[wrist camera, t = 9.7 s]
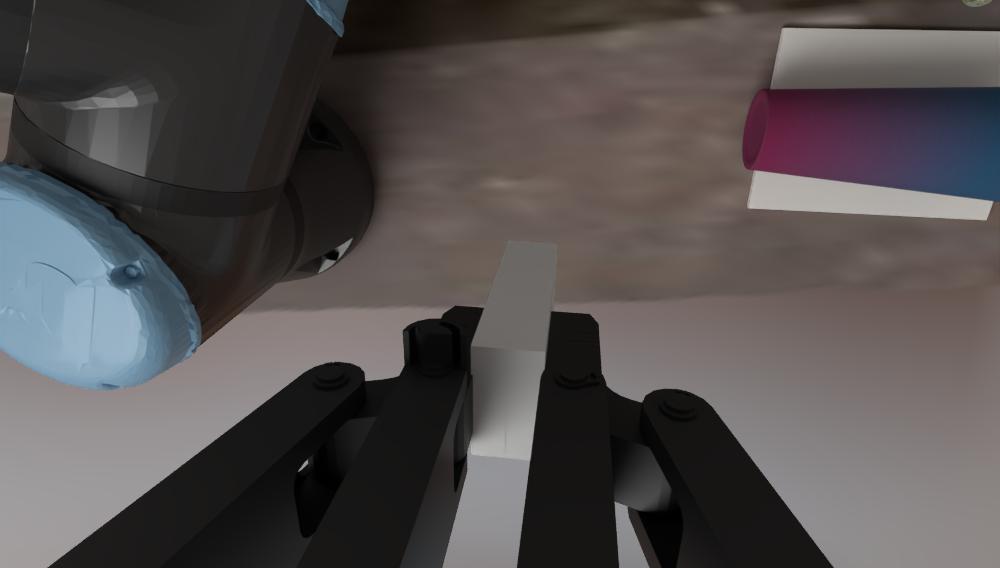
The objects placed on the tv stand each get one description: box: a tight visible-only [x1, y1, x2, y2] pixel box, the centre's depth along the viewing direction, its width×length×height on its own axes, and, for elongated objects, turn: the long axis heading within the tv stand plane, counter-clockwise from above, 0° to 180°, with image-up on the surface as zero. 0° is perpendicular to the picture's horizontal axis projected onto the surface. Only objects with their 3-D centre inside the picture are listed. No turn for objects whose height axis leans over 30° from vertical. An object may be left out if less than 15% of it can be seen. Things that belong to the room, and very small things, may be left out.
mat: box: [747, 28, 1000, 220], centre depth 38 cm, size 16×12×1 cm
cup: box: [742, 87, 1000, 202], centre depth 35 cm, size 7×7×15 cm
